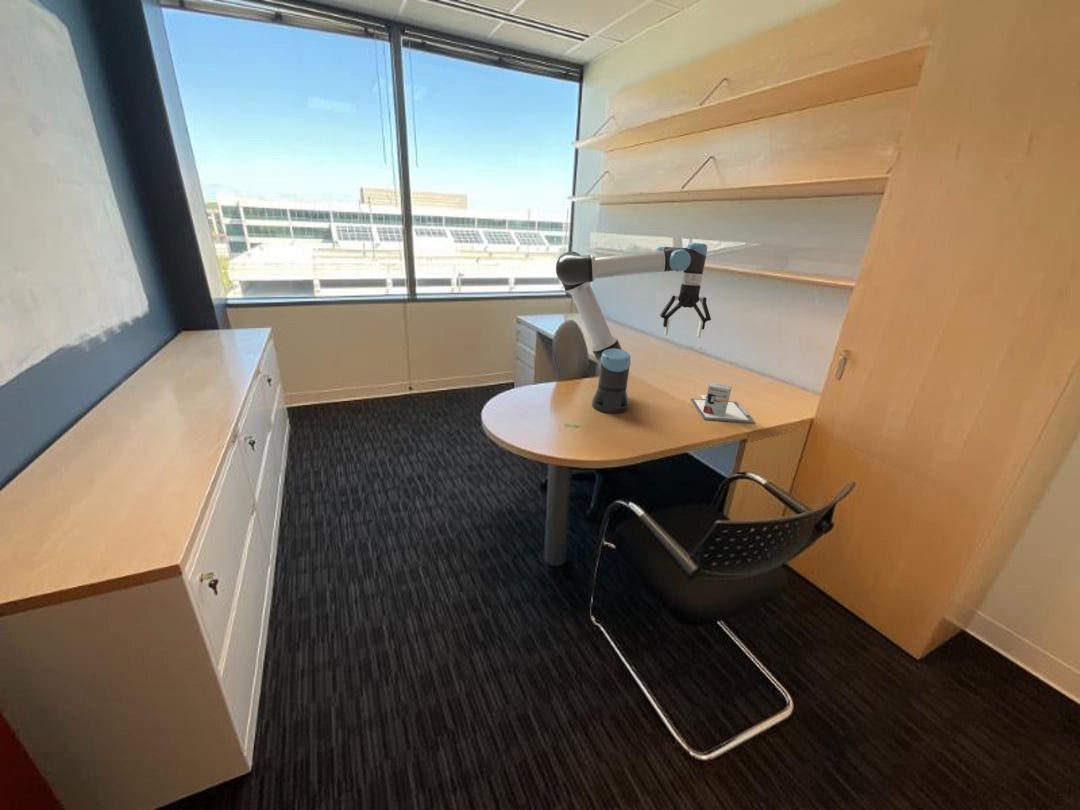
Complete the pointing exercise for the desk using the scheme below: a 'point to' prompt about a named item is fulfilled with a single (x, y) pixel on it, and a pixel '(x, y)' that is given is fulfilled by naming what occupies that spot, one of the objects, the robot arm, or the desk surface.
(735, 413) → the whiteboard
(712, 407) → the ink box
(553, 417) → the desk surface
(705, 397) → the word card
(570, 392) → the desk surface
